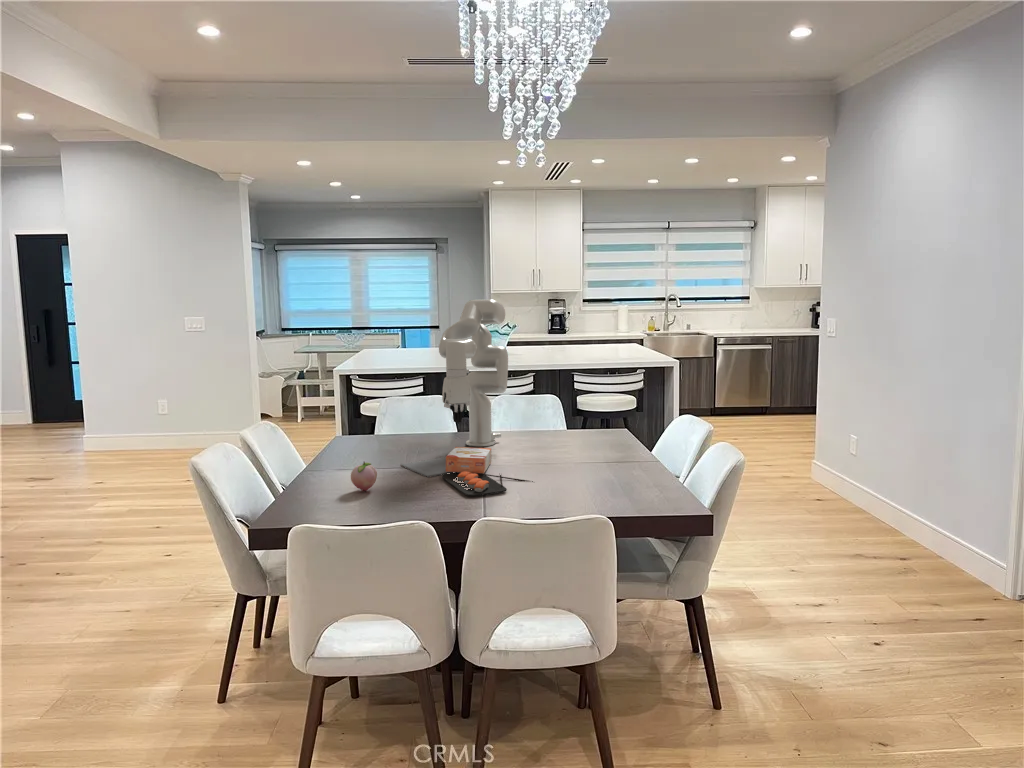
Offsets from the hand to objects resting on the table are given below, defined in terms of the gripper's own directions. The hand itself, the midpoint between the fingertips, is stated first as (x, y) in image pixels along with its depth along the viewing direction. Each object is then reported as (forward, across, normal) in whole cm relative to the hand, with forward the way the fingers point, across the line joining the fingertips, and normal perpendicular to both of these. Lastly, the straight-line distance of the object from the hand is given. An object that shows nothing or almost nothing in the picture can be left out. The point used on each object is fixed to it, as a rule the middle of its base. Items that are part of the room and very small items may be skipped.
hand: (457, 421), depth 265 cm
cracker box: (+13, -5, +2) cm, 14 cm away
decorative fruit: (+17, +44, +14) cm, 49 cm away
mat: (+16, +8, 0) cm, 18 cm away
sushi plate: (+17, +4, +31) cm, 36 cm away
